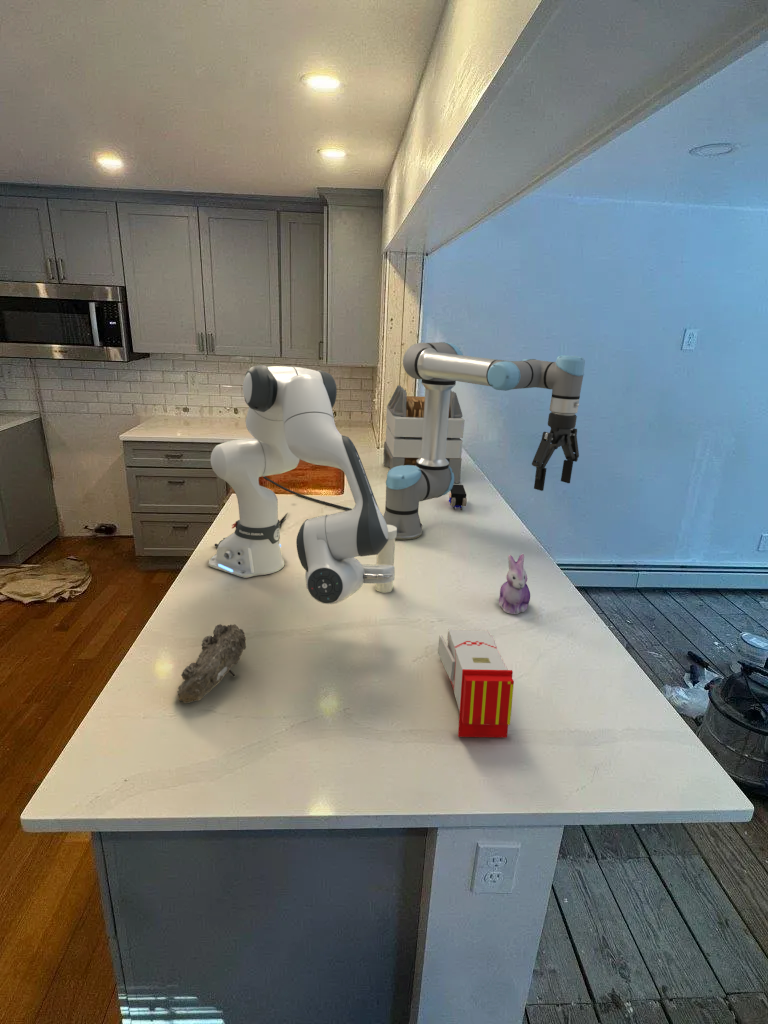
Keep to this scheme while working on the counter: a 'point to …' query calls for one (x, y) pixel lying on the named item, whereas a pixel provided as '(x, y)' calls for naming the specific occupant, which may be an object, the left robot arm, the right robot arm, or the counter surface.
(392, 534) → the lid
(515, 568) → the figurine
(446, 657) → the toy
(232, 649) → the fossil
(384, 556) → the jar
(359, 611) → the counter surface
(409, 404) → the grey boxy container
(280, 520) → the feather
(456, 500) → the figurine character
